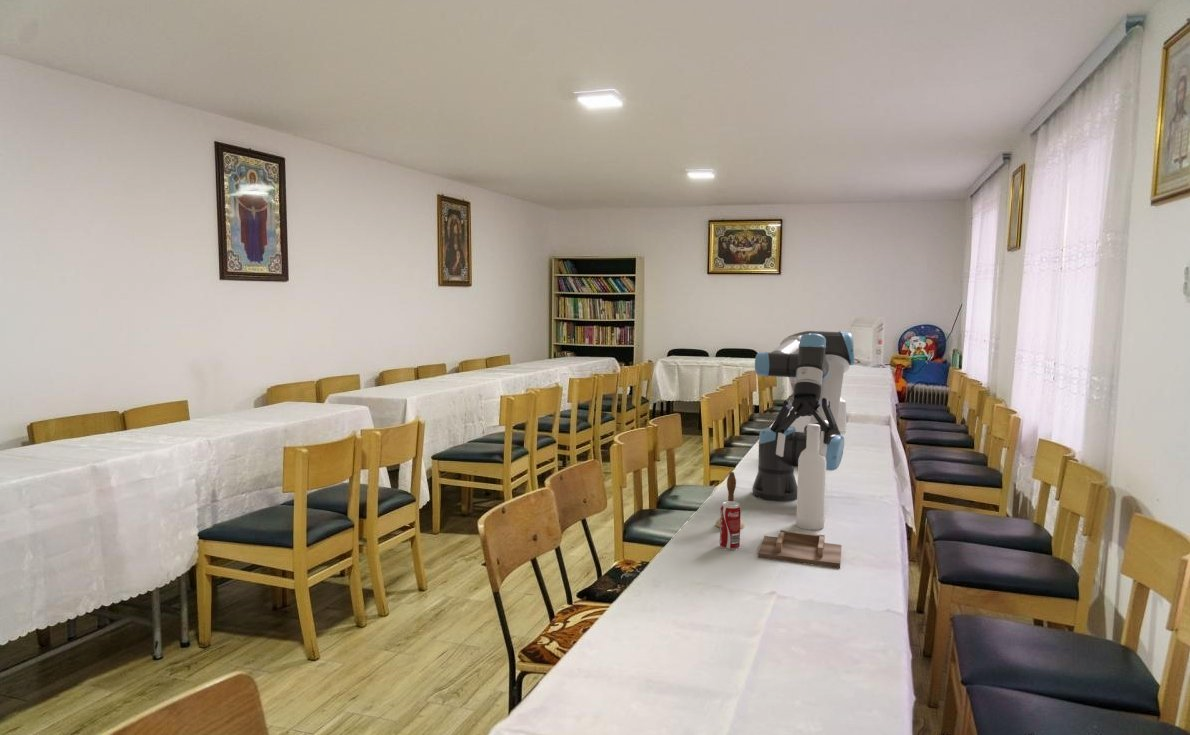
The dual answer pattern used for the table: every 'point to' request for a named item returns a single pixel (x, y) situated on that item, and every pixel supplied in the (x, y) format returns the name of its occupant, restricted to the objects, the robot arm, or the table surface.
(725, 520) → the soda can
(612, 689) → the table surface
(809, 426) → the bottle
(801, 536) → the can rest
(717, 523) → the hand bell
